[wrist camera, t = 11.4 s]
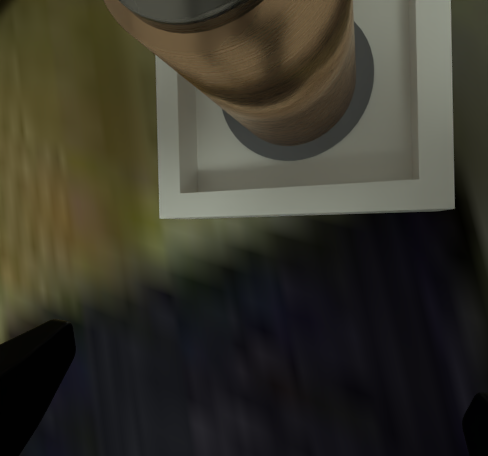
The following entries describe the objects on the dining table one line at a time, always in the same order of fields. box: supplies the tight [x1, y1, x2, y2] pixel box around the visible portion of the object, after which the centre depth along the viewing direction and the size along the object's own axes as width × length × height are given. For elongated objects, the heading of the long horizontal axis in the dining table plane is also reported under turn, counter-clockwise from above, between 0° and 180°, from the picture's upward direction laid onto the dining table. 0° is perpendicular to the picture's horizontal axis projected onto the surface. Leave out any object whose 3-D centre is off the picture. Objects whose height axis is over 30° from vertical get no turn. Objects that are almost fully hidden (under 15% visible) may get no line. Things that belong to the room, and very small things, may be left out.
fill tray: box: [155, 0, 455, 219], centre depth 17 cm, size 13×13×3 cm
